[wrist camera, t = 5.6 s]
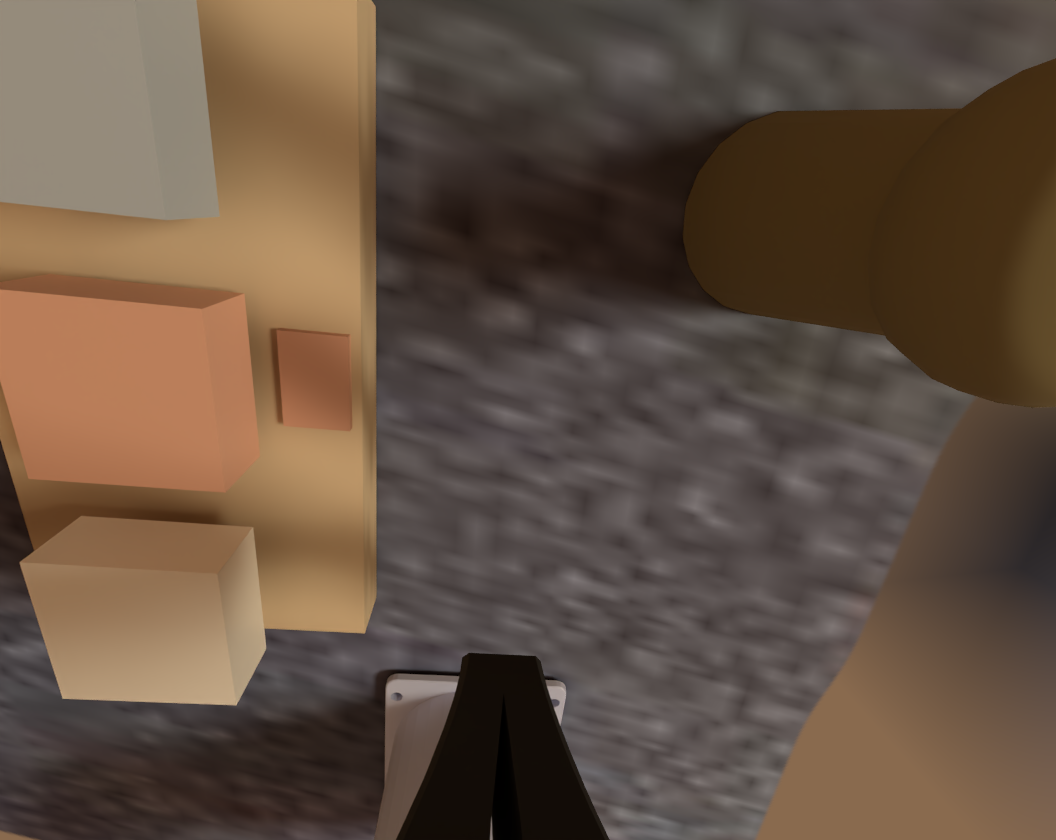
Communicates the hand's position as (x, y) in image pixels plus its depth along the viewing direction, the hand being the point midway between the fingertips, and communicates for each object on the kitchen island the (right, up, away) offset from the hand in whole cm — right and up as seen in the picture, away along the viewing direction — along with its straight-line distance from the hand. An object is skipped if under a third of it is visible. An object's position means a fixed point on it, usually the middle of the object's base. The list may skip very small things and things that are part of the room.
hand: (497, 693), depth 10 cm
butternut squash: (+8, +12, +7) cm, 16 cm away
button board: (-10, +7, +8) cm, 15 cm away
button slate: (-9, +13, +2) cm, 16 cm away
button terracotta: (-10, +6, +5) cm, 13 cm away
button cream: (-11, 0, +7) cm, 13 cm away
